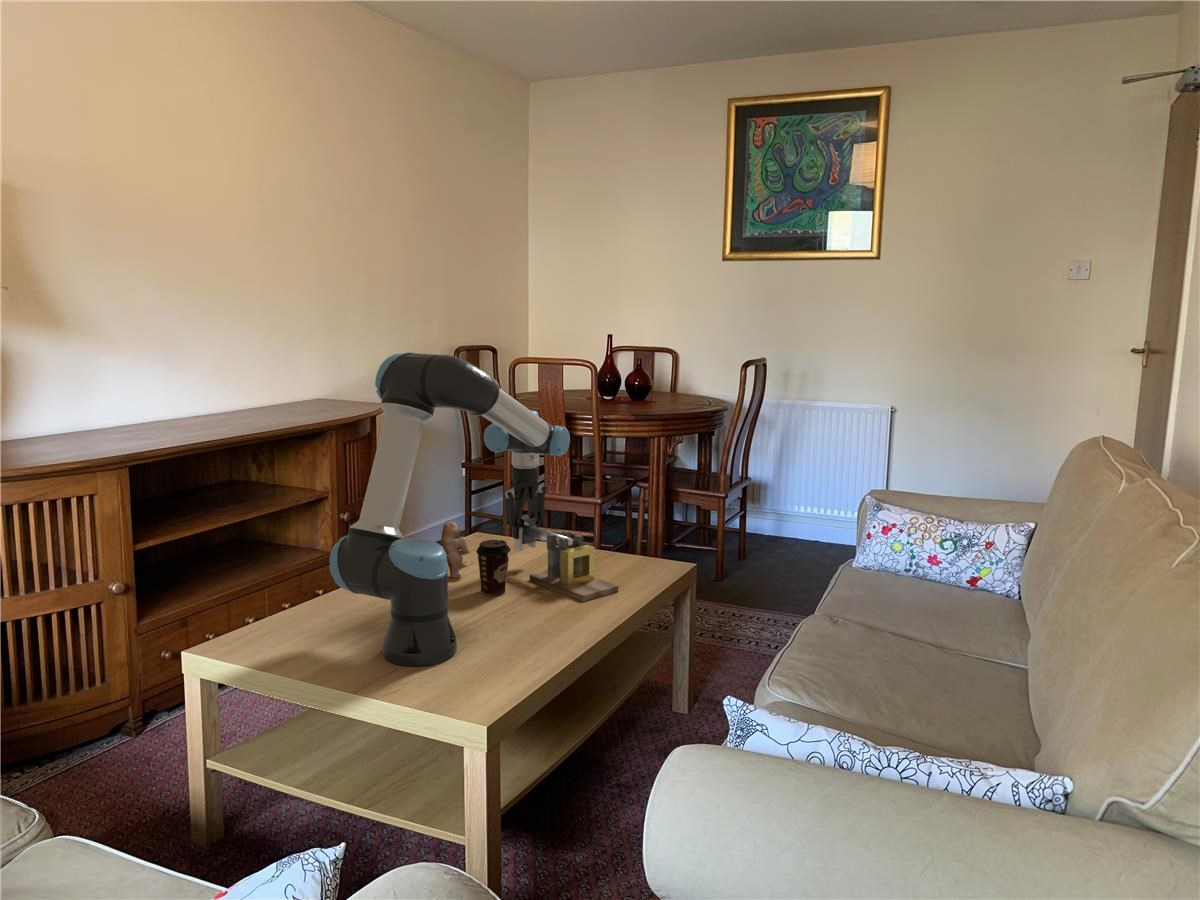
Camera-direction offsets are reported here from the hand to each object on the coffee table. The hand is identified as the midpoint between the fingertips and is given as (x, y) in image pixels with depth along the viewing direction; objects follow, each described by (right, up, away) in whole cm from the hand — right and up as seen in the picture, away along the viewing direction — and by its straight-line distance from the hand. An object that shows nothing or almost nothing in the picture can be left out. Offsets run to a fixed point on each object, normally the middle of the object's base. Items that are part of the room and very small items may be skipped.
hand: (525, 547), depth 236 cm
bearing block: (+14, -8, -14) cm, 22 cm away
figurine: (-18, -7, -7) cm, 21 cm away
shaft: (+6, +1, -7) cm, 9 cm away
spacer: (+15, -7, -16) cm, 23 cm away
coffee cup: (-6, -9, -20) cm, 23 cm away
